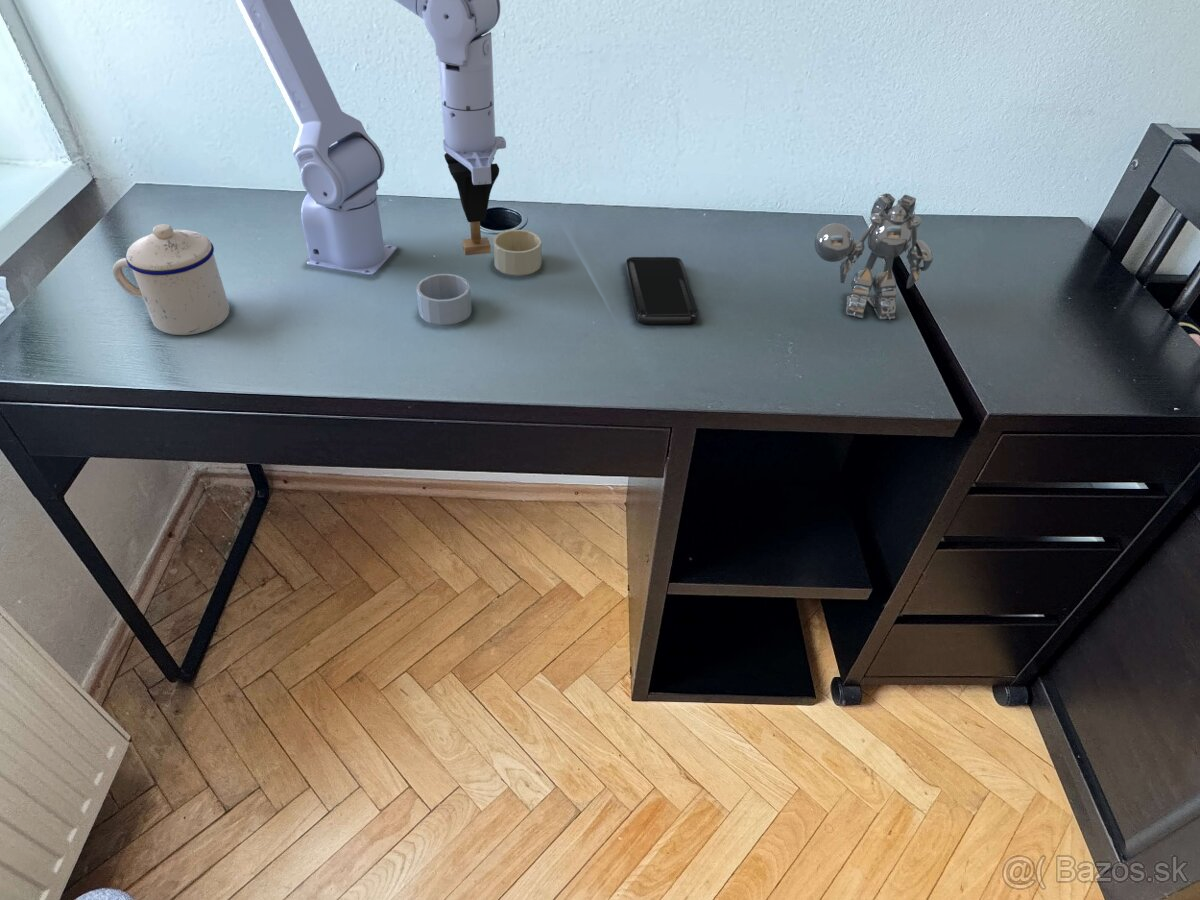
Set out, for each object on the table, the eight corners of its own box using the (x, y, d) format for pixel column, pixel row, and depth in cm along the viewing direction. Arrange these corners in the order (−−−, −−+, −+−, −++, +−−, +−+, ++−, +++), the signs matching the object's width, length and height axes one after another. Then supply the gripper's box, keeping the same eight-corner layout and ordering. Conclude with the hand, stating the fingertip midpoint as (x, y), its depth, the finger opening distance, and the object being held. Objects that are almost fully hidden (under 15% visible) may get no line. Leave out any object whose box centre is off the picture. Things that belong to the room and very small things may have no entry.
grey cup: (411, 323, 98) (408, 296, 96) (431, 296, 103) (428, 270, 100) (461, 331, 97) (459, 304, 95) (478, 304, 102) (477, 278, 99)
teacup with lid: (243, 298, 100) (218, 211, 92) (215, 340, 93) (185, 249, 86) (147, 292, 100) (114, 204, 92) (112, 333, 93) (73, 242, 85)
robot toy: (802, 315, 104) (830, 206, 94) (796, 290, 108) (823, 184, 98) (916, 323, 104) (957, 215, 94) (905, 298, 108) (943, 192, 98)
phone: (638, 316, 99) (625, 256, 110) (637, 324, 100) (625, 264, 111) (700, 316, 100) (682, 257, 111) (699, 324, 101) (681, 264, 112)
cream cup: (487, 273, 108) (486, 248, 105) (502, 251, 112) (501, 226, 110) (533, 281, 107) (533, 255, 104) (546, 258, 111) (546, 233, 109)
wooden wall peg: (465, 255, 99) (461, 198, 94) (462, 247, 100) (458, 190, 96) (491, 253, 100) (488, 196, 95) (487, 244, 101) (485, 188, 96)
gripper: (517, 123, 84) (519, 242, 93) (491, 78, 94) (495, 188, 103) (450, 127, 82) (459, 248, 91) (430, 80, 92) (440, 193, 101)
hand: (474, 217), depth 97 cm, fingers closed on wooden wall peg, 1 cm apart
